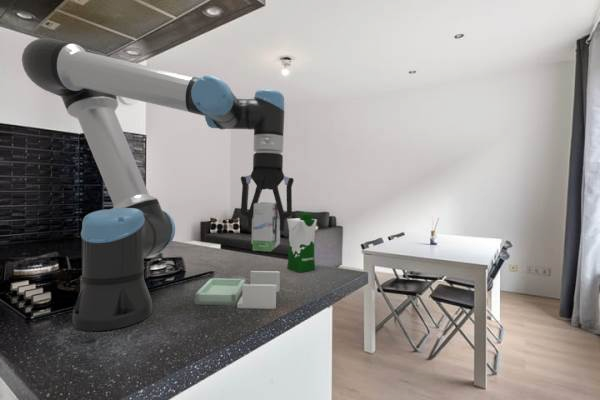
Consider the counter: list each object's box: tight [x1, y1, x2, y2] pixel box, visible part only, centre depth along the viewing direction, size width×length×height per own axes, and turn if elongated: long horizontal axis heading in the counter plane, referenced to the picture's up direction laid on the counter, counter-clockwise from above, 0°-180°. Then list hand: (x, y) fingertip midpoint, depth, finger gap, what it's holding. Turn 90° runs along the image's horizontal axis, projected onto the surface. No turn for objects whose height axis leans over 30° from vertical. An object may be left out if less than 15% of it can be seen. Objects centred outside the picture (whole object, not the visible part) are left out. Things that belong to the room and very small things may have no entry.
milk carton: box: [286, 212, 318, 274], centre depth 114 cm, size 9×9×20 cm
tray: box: [194, 277, 246, 306], centre depth 85 cm, size 10×14×2 cm
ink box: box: [252, 201, 280, 252], centre depth 83 cm, size 9×5×12 cm, turn 170°
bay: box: [236, 270, 281, 310], centre depth 83 cm, size 9×13×6 cm
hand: (265, 243), depth 83 cm, fingers closed on ink box, 6 cm apart
